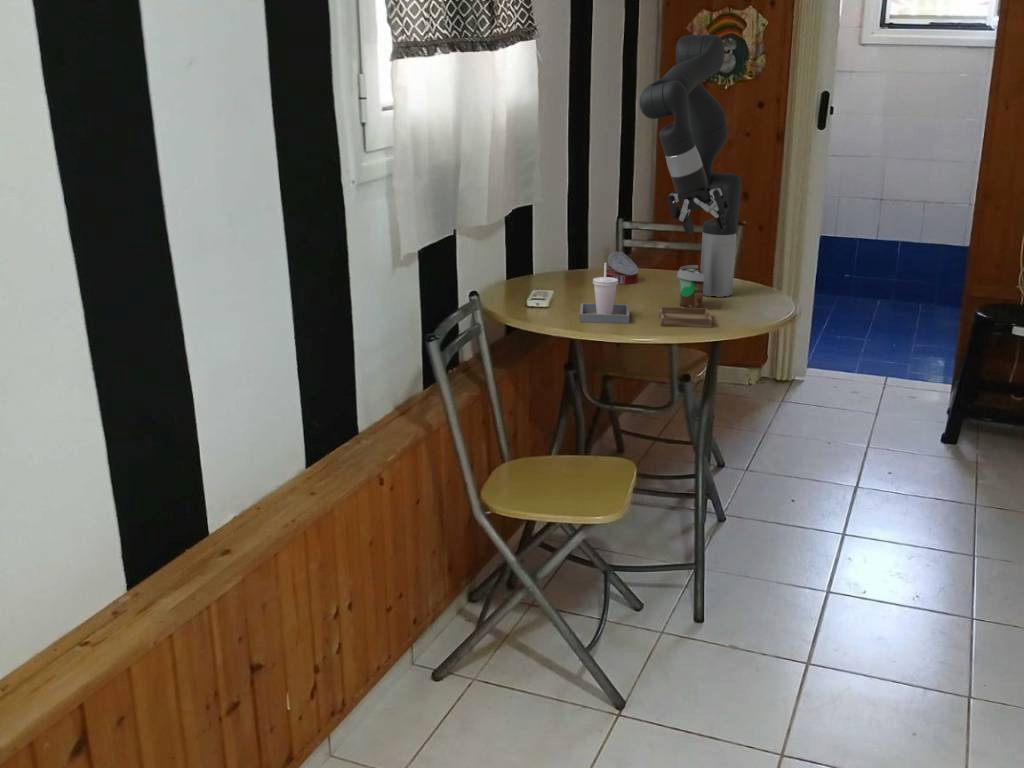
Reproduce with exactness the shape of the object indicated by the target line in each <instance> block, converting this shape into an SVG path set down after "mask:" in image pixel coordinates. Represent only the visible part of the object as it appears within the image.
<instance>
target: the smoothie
mask: <svg viewBox="0 0 1024 768" xmlns="http://www.w3.org/2000/svg"><path fill="white" fill-rule="evenodd" d="M607 265H608V262H604V266H603V267H604V269H603V276H599V277H594V278H592V284H593V286H594V287H593V288H594V298H595V304H596V311H597V312H596V314H613V313H614V312H613V306H614V304H615V299H616V293H617V286H618V285H617V284H618V279H616V278H611V277H606V270H608V269H607V267H608V266H607Z"/></svg>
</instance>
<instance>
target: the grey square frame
mask: <svg viewBox="0 0 1024 768" xmlns="http://www.w3.org/2000/svg"><path fill="white" fill-rule="evenodd" d="M629 306H630V305H629V304H625V303H623V304H622V303H620V304H619V303H618V304H617V303H614V306H613V312H612V314H597V311H596V303H584V302H583V303H580V310H579V323H598V324H600V323H601V324H602V323H603V324H604V323H607V324H630V310H629V309H630V308H629ZM584 312H588V313H584ZM589 312H591V313H589ZM592 312H594V313H592ZM613 313H624V314H613Z"/></svg>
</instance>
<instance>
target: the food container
mask: <svg viewBox="0 0 1024 768" xmlns="http://www.w3.org/2000/svg"><path fill="white" fill-rule="evenodd" d="M676 276H677V278H679V307H681V306H682V307H684V308H703V296H704V295H703V284H704V273H701V271H700V270H699V264H698V265H697V264H691V265H690V264H689V265H684V266H680V267H679V269H678V271H677V275H676ZM682 307H681V308H682Z"/></svg>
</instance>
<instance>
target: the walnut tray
mask: <svg viewBox="0 0 1024 768" xmlns="http://www.w3.org/2000/svg"><path fill="white" fill-rule="evenodd" d="M658 317H659V322H661V323H660V326H661V327H676V326H679V327H678V328H681V326H687V327H686V328H712V327H713V326H712V324H713V319H712V316H711V314H710V311H709V309H708V308H707V307H702V308H682V307H679V306H678V307H677V306H676V307H675V306H673V307H672V306H669V307H668V306H665V307H664V306H659V307H658Z"/></svg>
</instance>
